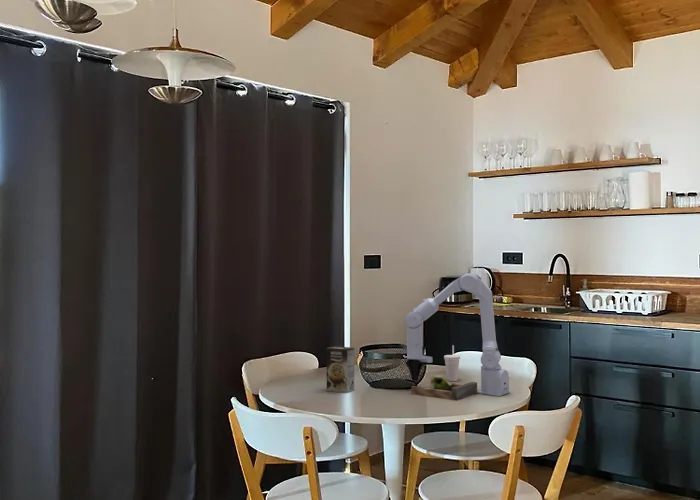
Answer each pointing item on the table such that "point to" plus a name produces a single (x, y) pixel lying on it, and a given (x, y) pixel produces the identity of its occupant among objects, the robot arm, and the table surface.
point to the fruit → (440, 383)
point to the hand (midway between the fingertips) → (415, 380)
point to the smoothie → (452, 365)
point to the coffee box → (340, 369)
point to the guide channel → (455, 394)
